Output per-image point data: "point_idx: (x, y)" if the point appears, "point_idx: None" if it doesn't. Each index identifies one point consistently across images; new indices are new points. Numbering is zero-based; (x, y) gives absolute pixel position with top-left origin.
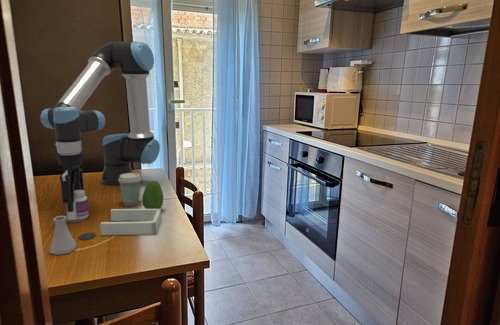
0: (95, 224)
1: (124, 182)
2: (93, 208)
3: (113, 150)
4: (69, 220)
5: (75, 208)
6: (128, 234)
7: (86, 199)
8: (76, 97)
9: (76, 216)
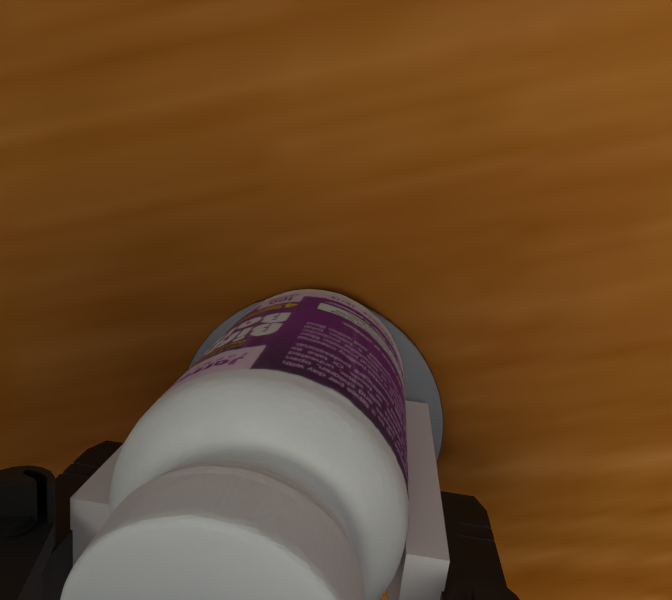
0: (556, 156)
1: None
2: (28, 286)
3: None
4: None
5: (424, 481)
6: None
7: (287, 379)
8: None
9: (411, 417)
